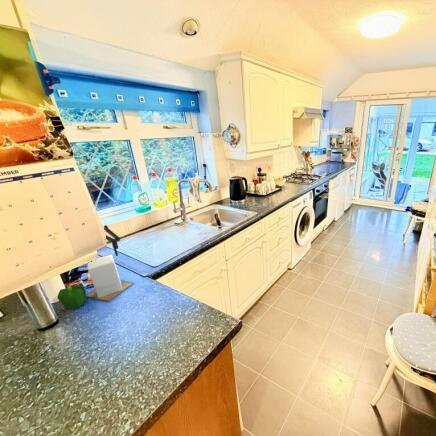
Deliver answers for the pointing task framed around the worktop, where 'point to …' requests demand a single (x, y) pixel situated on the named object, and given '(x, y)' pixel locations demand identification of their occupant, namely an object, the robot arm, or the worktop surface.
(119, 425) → the worktop surface
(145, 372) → the worktop surface
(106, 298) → the coaster
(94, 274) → the white product box
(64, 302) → the bell pepper
